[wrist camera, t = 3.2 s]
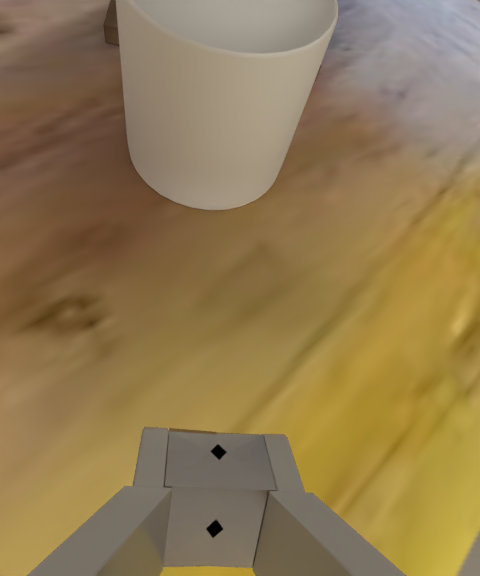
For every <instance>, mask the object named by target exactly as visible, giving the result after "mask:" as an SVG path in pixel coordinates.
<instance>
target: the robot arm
mask: <svg viewBox="0 0 480 576" xmlns="http://www.w3.org/2000/svg"><path fill="white" fill-rule="evenodd" d="M168 433H169V435H168ZM208 565H209V566H220V567H245V568H253V571H254V573H255V574H256V576H406V575H405V574H404V573H403V572H402V571H400V570H399V569H398V568H397V567H396V566H395V565H394V564H392V563H391V562H390V561H389V560H388V559H387V558H386V557H384V556H383V555H382V554H381V553H380V552H379V551H378V550H377V549H375V548H374V547H373V546H372V545H371V544H370V543H369V542H367V541H366V540H365V539H364V538H363V537H362V536H361V535H360V534H358V533H357V532H356V531H355V530H354V529H353V528H352V527H350V526H349V525H348V524H347V523H346V522H345V521H344V520H343V519H341V518H340V517H339V516H338V515H337V514H336V513H335V512H333V511H332V510H331V509H330V508H329V507H328V506H327V505H325V504H324V503H323V502H322V501H321V500H320V499H319V498H318V497H316V496H315V495H314V494H313V493H305V490H304V487H303V484H302V481H301V478H300V475H299V472H298V469H297V466H296V463H295V460H294V456H293V453H292V450H291V447H290V444H289V441H288V438H287V437H286V436H285V435H284V434H261V435H259V434H240V433H220V432H211V431H198V430H186V429H173V428H169V430H168V428H157V427H144V429H143V431H142V436H141V442H140V447H139V453H138V458H137V464H136V470H135V475H134V481H133V486H124V487H123V488H122V489H121V490H120V491H119V492H118V493H117V494H115V495H114V496H113V497H112V498H111V499H110V500H109V501H108V502H107V503H106V504H105V505H103V506H102V507H101V508H100V509H99V510H98V511H97V512H96V513H95V514H94V515H93V516H91V517H90V518H89V519H88V520H87V521H86V522H85V523H84V524H83V525H82V526H81V527H79V528H78V529H77V530H76V531H75V532H74V533H73V534H72V535H71V536H70V537H69V538H67V539H66V540H65V541H64V542H63V543H62V544H61V545H60V546H59V547H58V548H56V549H55V550H54V551H53V552H52V553H51V554H50V555H49V556H48V557H47V558H46V559H44V560H43V561H42V562H41V563H40V564H39V565H38V566H37V567H36V568H35V569H34V570H32V571H31V572H30V573H29V574H28V575H27V576H159V575H160V573H161V572H162V570H163V567H184V566H208Z"/></svg>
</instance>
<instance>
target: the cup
mask: <svg viewBox="0 0 480 576" xmlns="http://www.w3.org/2000/svg"><path fill="white" fill-rule="evenodd" d="M338 8H339V7H338V3H337V0H116V11H117V23H118V35H119V47H120V59H121V71H122V84H123V96H124V108H125V120H126V132H127V142H128V148H129V153H130V158H131V161H132V163H133V165H134V167H135V169H136V171H137V173H138V174H139V175H140V176H141V178H142V179H143V180H144V181H145V182H146V184H148V185H149V186H150V187H151V188H153V189H154V190H155V191H156V192H158V193H159V194H160V195H162V196H164V197H166V198H168V199H170V200H172V201H174V202H176V203H179V204H182V205H185V206H188V207H191V208H198V209H204V210H227V209H231V208H236V207H241V206H243V205H246V204H248V203H250V202H253V201H255V200H256V199H258V198H259V197H261V196H262V195H263V194H265V193H266V192H267V191H268V190H269V188H270V187H271V186H272V185H273V184H274V182H275V180H276V178H277V176H278V173H279V171H280V169H281V167H282V164H283V162H284V159H285V157H286V154H287V151H288V149H289V146H290V144H291V141H292V138H293V136H294V133H295V131H296V128H297V125H298V123H299V120H300V117H301V115H302V112H303V110H304V107H305V104H306V102H307V99H308V97H309V94H310V91H311V89H312V86H313V84H314V81H315V78H316V76H317V73H318V70H319V68H320V65H321V63H322V60H323V57H324V55H325V52H326V50H327V47H328V44H329V42H330V39H331V36H332V34H333V31H334V29H335V26H336V23H337V21H338Z"/></svg>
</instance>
